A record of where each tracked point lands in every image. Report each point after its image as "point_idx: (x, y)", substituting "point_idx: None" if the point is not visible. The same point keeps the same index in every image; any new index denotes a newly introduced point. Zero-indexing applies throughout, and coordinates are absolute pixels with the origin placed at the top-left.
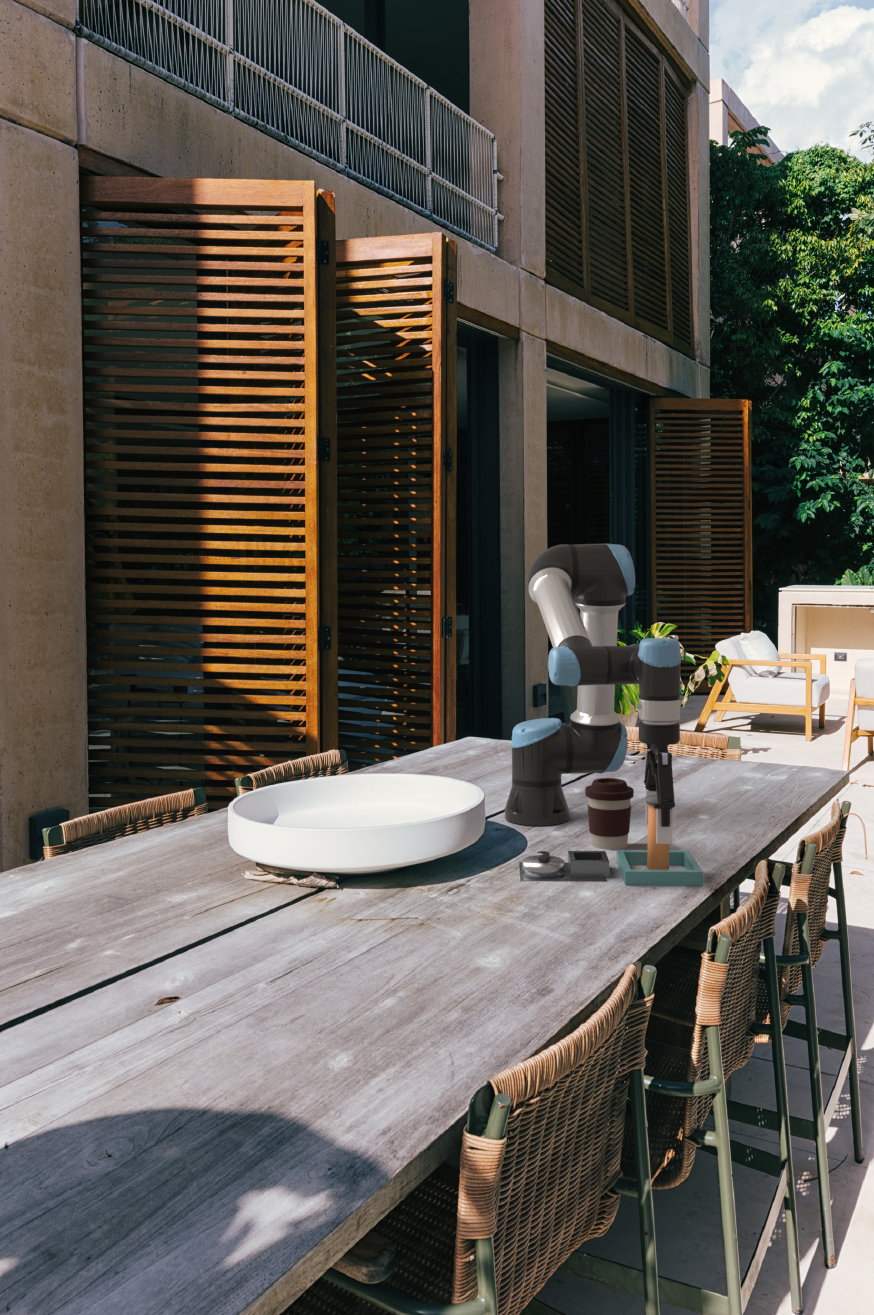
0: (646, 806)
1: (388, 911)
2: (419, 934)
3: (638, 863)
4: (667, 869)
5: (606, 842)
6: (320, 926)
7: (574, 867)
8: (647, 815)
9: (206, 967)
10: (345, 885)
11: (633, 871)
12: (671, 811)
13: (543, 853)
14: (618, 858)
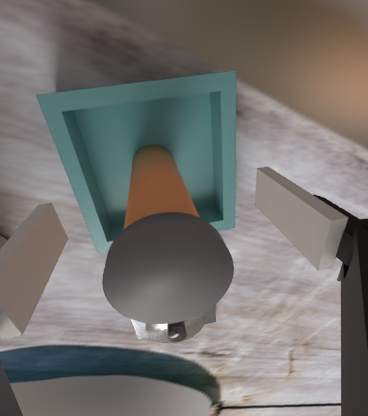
0: (47, 279)
1: (274, 367)
2: (327, 339)
3: (102, 204)
4: (165, 151)
5: None
6: (300, 381)
7: None
8: (57, 254)
9: None
10: (213, 403)
11: (234, 215)
12: (335, 214)
13: (180, 335)
14: None
